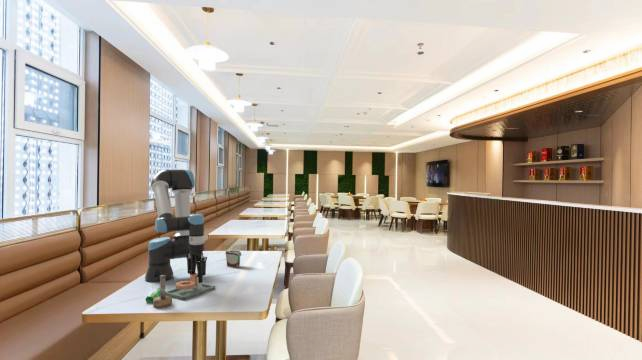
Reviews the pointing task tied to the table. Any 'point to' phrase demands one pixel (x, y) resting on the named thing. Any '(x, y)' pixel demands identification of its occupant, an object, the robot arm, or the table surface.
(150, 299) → the candy
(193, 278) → the ring
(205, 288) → the tray
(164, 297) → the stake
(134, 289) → the table surface
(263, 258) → the table surface
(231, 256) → the food container
